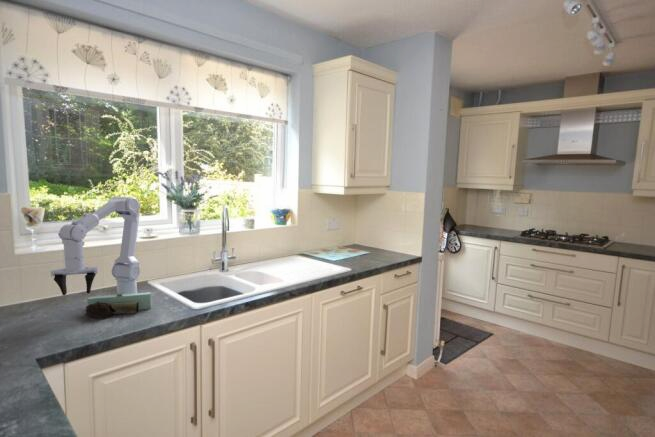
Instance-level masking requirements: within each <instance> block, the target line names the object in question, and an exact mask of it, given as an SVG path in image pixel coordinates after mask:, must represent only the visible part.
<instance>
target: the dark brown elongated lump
mask: <svg viewBox="0 0 655 437" xmlns="http://www.w3.org/2000/svg"><path fill="white" fill-rule="evenodd" d="M138 309H139V303H138V302H131V303H115V304H106V303H99V302H96V303H95V304H91V305H88V304H87V305H86V306H85V315H86V316H90V317H95V318H96V319H99V320H100V319H106V318H109V317H111V316H112V315H116V314H117V315H119V314H121V315H122V314H137V313H139V310H138Z"/></svg>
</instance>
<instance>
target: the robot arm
mask: <svg viewBox="0 0 655 437" xmlns="http://www.w3.org/2000/svg"><path fill="white" fill-rule="evenodd" d="M140 206H141V203H140V202H139V200H138V199H137V198H136V197H134V196H112V197H111V198H109V199H108V200H107V202H105V204H103V205H102V206H100V207H99V208H98V209H96V210H95V211H93V213H91V212H84V213H83V214H82V216H81V217H79V218H78V219H76V220H73V221H71V223H70V224H64V225H62V227H61V228H60V229H59V232H58V233H57V234H58V235H57V236H58V237H59V239H61V242H62V244H63V253H64V256H63V257H64V265H65V266H64V267H65V268H60V269H52V270H50V277H53V281H54V282H55V283H56V284H57V285H58V287H59V290H60V291H61V294H62V296H65V295H67V292H68V291H67V276H70V275H84V279H85V284H86V293H87V294H90V293H91V292H92V290H91V289H92V284H93V282H94V279H95V277H96V275H97V274H99V273H100V271H99V270H100V269H99V267H98V266H93V267H92V266H85V258H84V245H83V243H84V242H83V240H84V239H85V237H86V236H87V233H89V232H90V231H91V230H93V229H94V228H96V227H97V226H99V224H100V220H103V219H104V218H106V217H107V216H109V215H111V214H112V213H114V212H115V213H116V214H118V215H119V216H120V217H122V219H124V221H123V228H122V229H123V231H122V236H121V246H120V252H119V253H120V254H119V256H118V257H117V258H116V259H115V260H114V264H113V266H112V269H111V276H112V277H113V278H115V281H116V291H117V292H116V293H117V294H118V293H123V294H135V293H138V285H137V284H138V282H137V279H138V277H139V276H140V273H141V269H140V261H139V260H138V259H137V258H136V257H135V255H136V248H137V247H136V245H137V238H138V231H139V230H138V228H139V222H140ZM117 294H116V295H117Z"/></svg>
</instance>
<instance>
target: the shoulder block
mask: <svg viewBox="0 0 655 437" xmlns="http://www.w3.org/2000/svg"><path fill="white" fill-rule="evenodd" d="M86 300H87V306H88V305H91V304H95V303H96V302H99V303H106V304H115V303H131V302H138V303H139V309H138V311H139V310H149V309H151V310H152V307H153V304H152V292H151V291H150V292H137V293H135V294H123V293H118V294H113V295H112V294H111V295H100V296H89V297H88V298H87V299H86Z"/></svg>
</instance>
